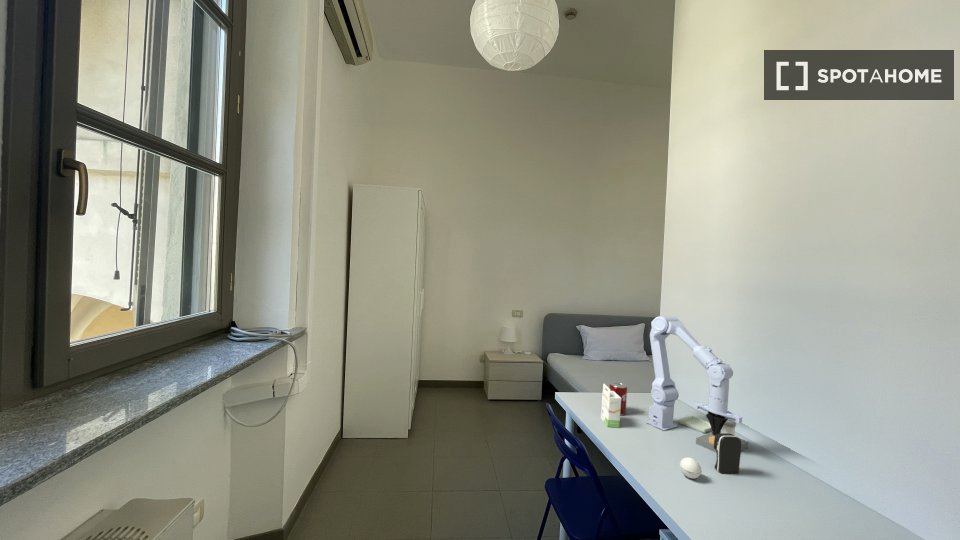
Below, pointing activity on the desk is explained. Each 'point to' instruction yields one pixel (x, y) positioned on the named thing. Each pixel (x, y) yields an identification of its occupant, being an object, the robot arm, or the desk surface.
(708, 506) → the desk surface
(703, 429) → the tray
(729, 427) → the grey cylinder
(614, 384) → the soda can
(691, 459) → the white egg
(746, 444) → the housing
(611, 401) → the ink box
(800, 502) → the desk surface
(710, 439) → the button
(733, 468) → the battery charger
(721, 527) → the desk surface
